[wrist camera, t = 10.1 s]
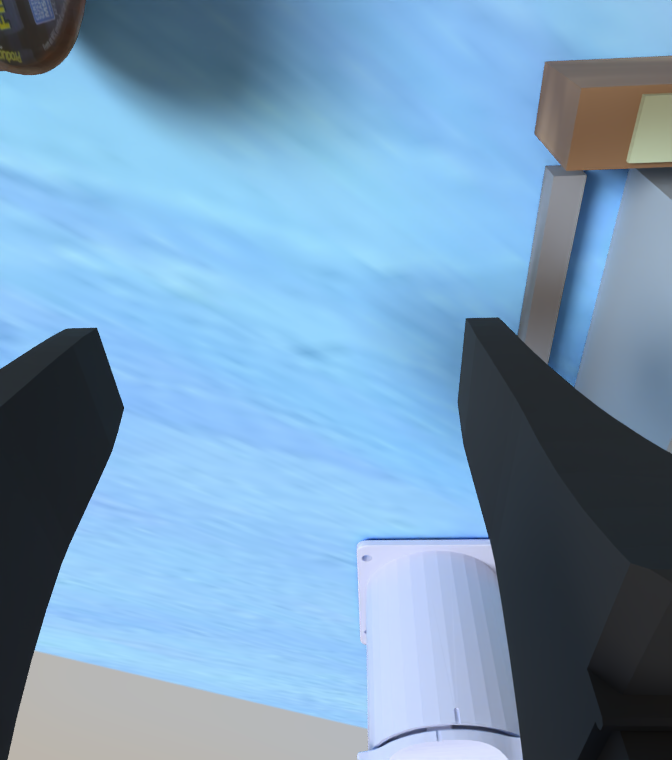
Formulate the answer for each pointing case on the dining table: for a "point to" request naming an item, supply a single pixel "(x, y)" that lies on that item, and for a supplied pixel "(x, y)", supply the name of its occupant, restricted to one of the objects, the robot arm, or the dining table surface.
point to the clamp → (588, 161)
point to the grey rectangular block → (635, 313)
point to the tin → (37, 33)
